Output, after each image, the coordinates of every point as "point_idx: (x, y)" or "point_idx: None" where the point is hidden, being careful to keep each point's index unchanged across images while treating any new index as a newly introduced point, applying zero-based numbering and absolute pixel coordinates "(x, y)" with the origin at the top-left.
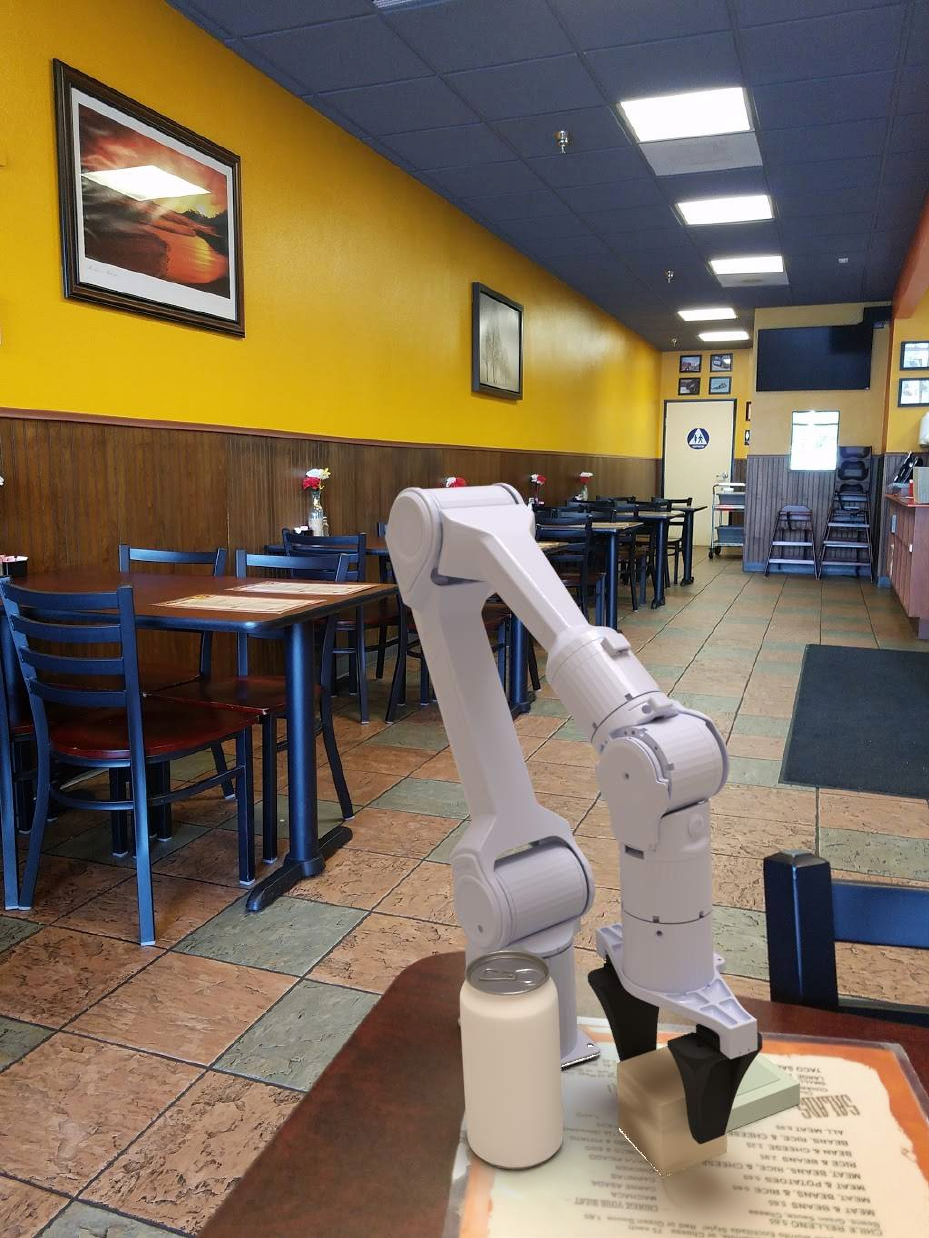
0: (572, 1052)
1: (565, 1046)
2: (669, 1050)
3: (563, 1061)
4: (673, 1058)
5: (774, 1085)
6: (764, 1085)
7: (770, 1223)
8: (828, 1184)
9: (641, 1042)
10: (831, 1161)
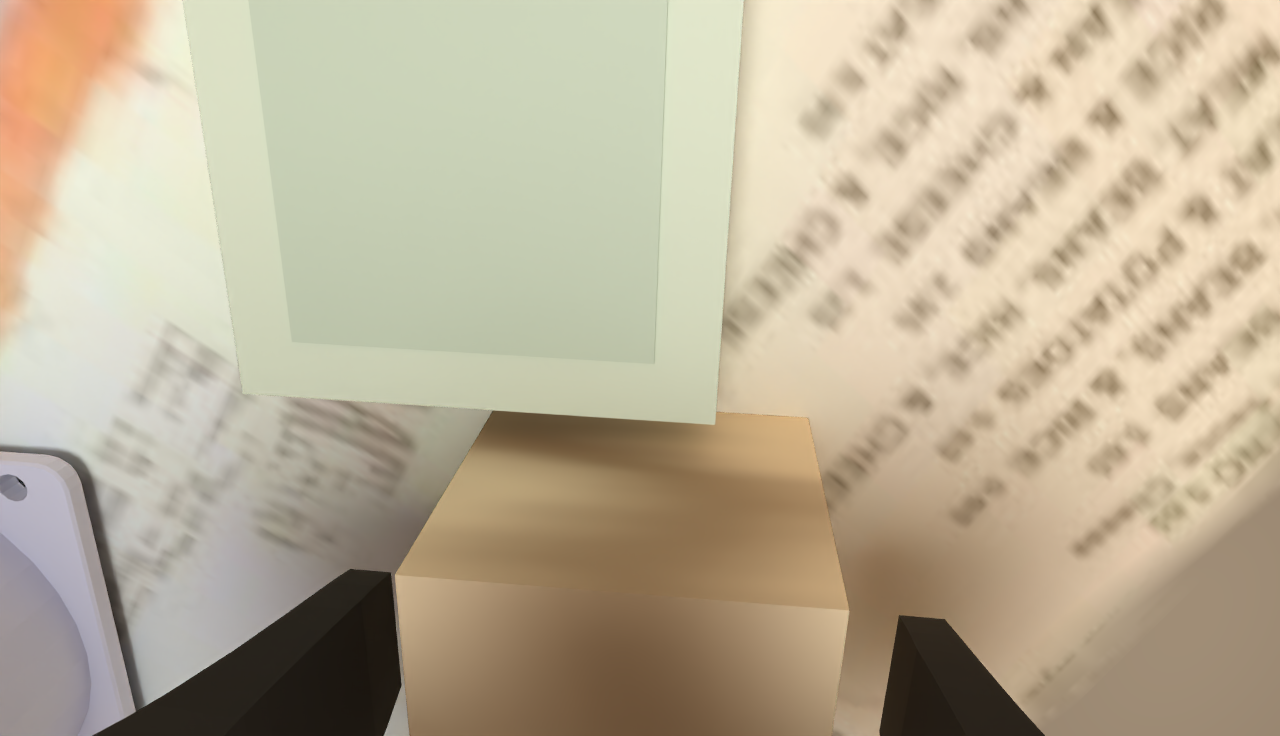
0: (46, 571)
1: (30, 630)
2: (443, 654)
3: (92, 624)
4: (517, 681)
5: (691, 22)
6: (666, 76)
7: (1166, 535)
8: (1201, 211)
9: (322, 730)
10: (1125, 85)
